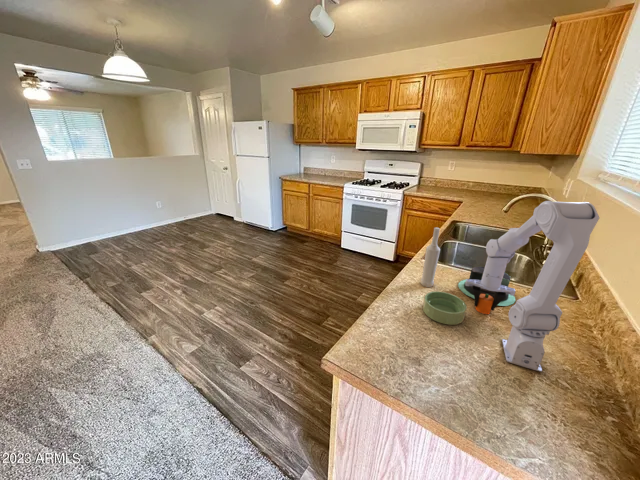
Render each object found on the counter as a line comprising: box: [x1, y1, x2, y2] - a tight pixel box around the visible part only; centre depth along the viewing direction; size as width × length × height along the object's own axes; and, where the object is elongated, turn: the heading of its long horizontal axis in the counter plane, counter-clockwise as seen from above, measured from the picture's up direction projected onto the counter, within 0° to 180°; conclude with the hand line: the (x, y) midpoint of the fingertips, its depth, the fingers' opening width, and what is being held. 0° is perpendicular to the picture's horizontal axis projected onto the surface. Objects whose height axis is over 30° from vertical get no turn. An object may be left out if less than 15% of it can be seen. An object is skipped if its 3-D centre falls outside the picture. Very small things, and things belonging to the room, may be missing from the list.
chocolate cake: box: [457, 266, 516, 307], centre depth 106 cm, size 15×19×20 cm
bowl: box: [422, 290, 468, 326], centre depth 92 cm, size 13×13×5 cm
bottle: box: [420, 227, 441, 288], centre depth 107 cm, size 5×5×25 cm
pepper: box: [475, 294, 494, 315], centre depth 94 cm, size 5×5×7 cm
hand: (483, 307), depth 95 cm, fingers closed on pepper, 4 cm apart
